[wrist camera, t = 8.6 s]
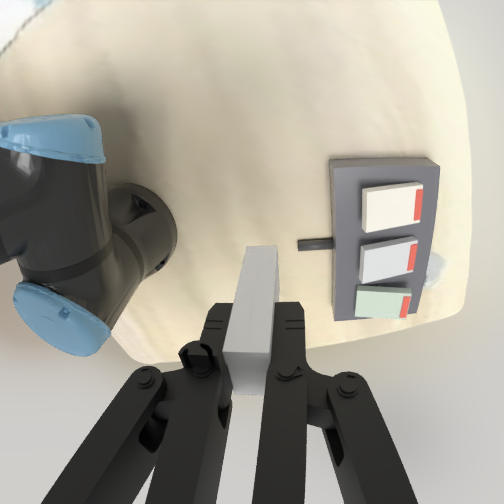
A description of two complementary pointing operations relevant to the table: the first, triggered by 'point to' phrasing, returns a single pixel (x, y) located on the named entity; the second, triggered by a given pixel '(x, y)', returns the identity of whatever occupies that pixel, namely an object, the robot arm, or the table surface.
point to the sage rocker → (382, 302)
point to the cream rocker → (391, 206)
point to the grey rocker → (387, 259)
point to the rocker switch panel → (353, 236)
